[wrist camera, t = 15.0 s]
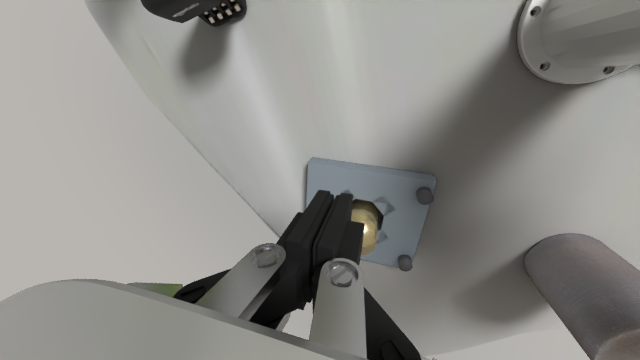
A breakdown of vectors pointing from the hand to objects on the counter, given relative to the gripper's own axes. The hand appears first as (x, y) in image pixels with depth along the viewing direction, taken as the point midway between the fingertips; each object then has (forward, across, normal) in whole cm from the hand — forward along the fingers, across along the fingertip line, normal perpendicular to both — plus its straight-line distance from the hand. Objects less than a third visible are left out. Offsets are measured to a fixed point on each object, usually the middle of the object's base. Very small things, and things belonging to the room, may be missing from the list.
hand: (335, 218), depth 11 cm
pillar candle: (+25, -28, +18) cm, 42 cm away
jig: (+24, 0, +14) cm, 27 cm away
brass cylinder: (+24, 0, +14) cm, 28 cm away
